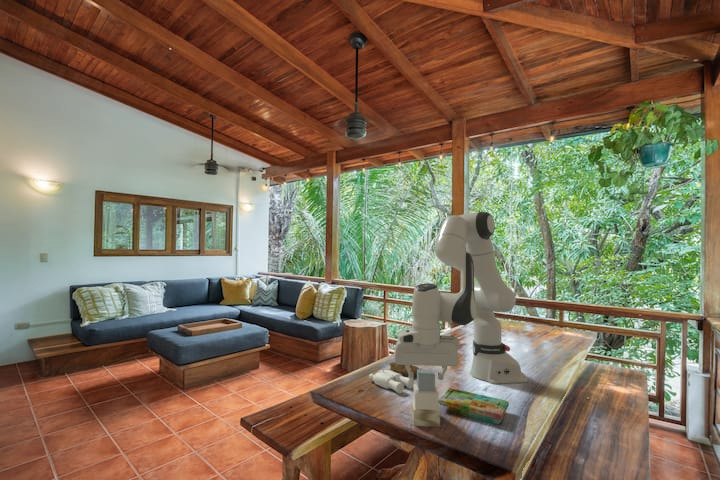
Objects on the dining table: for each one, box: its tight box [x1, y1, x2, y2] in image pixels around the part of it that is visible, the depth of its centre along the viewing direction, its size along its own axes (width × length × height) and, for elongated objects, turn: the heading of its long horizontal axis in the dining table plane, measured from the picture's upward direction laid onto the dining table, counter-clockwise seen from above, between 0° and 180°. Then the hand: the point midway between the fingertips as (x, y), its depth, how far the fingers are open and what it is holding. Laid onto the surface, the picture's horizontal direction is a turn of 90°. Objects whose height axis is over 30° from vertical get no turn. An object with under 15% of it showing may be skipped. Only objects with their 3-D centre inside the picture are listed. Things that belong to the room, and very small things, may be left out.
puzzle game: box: [438, 387, 510, 426], centre depth 116 cm, size 12×5×20 cm
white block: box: [412, 383, 439, 410], centre depth 110 cm, size 7×7×5 cm
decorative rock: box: [389, 361, 420, 380], centre depth 150 cm, size 11×4×15 cm
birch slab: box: [411, 397, 441, 428], centre depth 110 cm, size 8×8×5 cm
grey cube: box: [416, 368, 436, 392], centre depth 110 cm, size 5×5×5 cm
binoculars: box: [368, 369, 415, 395], centre depth 137 cm, size 10×16×5 cm, turn 44°
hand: (425, 378), depth 110 cm, fingers open, 8 cm apart
